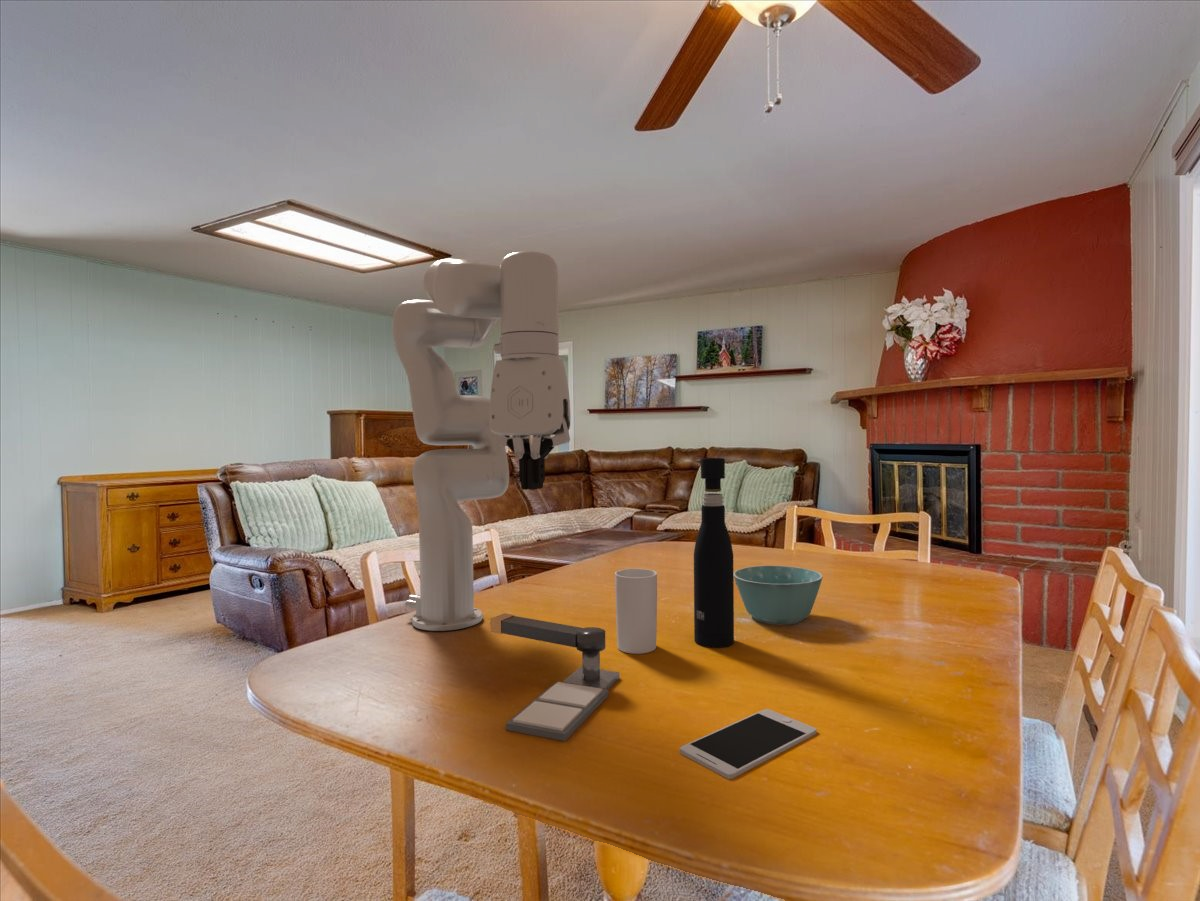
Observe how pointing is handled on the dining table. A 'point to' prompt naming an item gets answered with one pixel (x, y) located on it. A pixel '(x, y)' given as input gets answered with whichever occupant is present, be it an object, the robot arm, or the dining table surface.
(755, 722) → the smartphone
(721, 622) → the black bottle
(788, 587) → the bowl
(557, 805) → the dining table surface
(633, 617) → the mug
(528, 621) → the swing arm
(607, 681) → the pivot post base
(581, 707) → the label tile
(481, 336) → the robot arm
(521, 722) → the label tile
